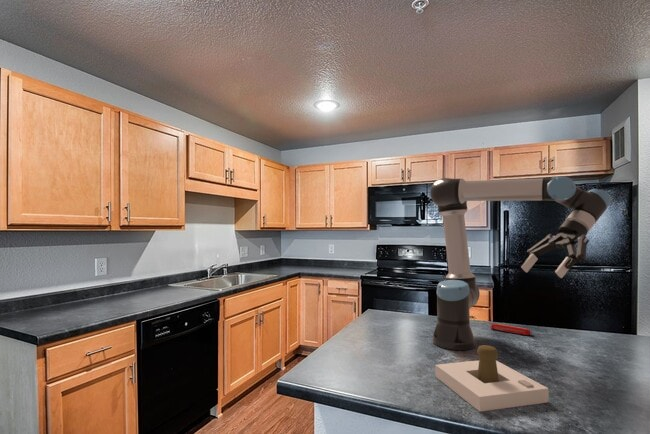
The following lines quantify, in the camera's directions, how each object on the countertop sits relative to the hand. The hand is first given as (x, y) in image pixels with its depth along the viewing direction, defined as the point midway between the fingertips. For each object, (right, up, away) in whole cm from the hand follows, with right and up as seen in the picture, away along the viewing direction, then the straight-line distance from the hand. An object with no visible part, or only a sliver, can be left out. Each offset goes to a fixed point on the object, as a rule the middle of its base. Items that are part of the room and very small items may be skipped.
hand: (540, 272), depth 113 cm
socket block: (-26, -29, -18) cm, 43 cm away
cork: (-26, -29, -19) cm, 43 cm away
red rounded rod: (+8, -31, +33) cm, 46 cm away
